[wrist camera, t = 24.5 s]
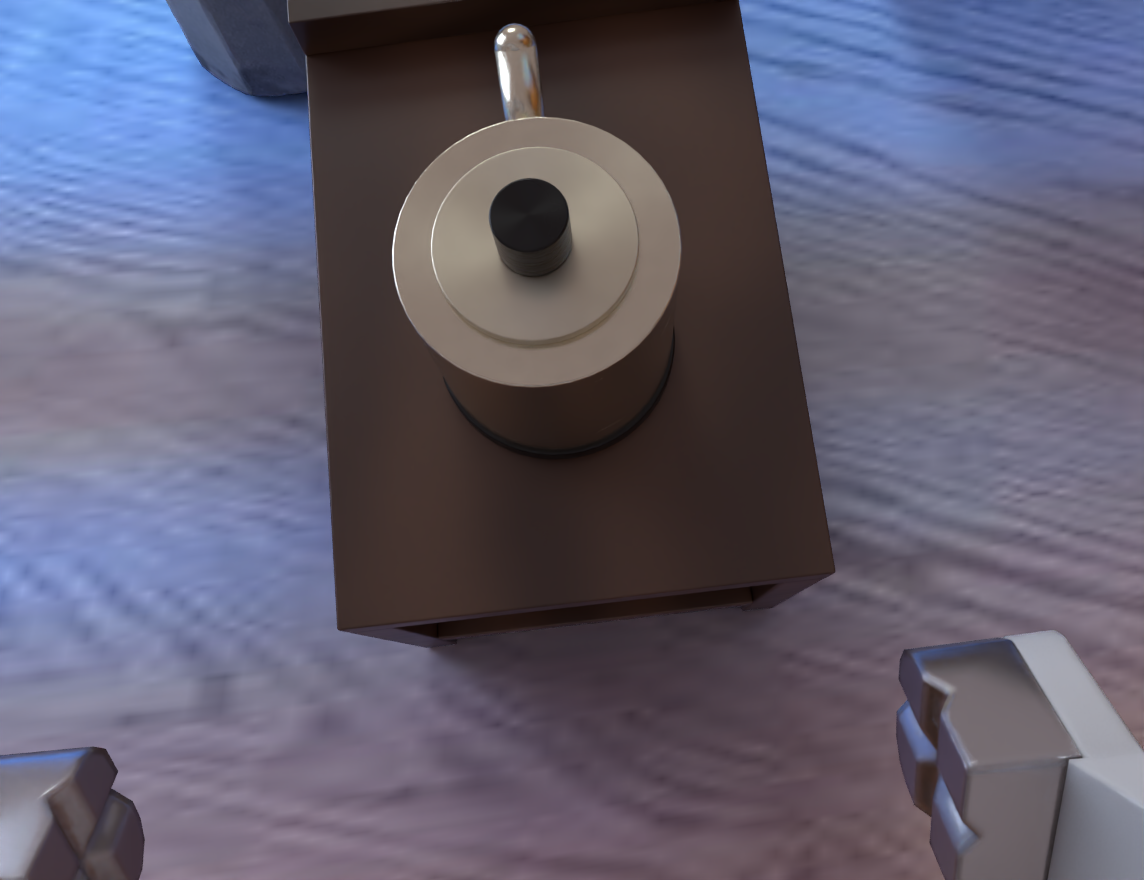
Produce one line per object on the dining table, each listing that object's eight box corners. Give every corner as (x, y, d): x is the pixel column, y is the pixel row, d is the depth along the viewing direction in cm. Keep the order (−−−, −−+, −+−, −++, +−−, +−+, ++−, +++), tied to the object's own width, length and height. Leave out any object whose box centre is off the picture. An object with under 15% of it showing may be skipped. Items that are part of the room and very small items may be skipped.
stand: (425, 647, 39) (318, 627, 26) (391, 205, 43) (286, -8, 30) (774, 607, 38) (849, 566, 25) (705, 166, 43) (739, -68, 29)
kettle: (451, 473, 28) (379, 387, 20) (424, 160, 30) (350, -29, 22) (689, 444, 28) (712, 346, 20) (644, 132, 30) (649, -69, 22)
